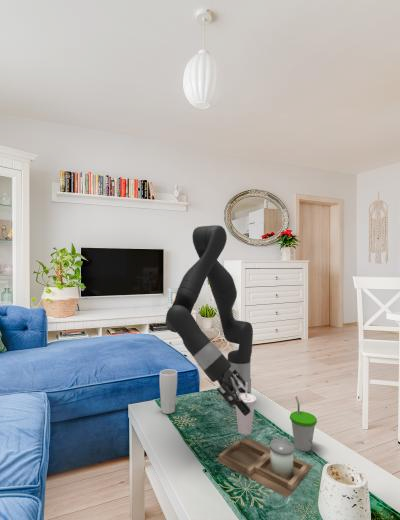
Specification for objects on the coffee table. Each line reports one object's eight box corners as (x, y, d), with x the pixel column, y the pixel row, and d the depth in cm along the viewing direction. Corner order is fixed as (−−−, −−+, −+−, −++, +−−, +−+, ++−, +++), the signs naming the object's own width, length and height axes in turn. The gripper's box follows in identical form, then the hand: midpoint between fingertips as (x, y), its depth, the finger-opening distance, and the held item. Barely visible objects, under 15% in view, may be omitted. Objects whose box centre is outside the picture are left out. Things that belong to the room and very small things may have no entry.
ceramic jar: (276, 461, 92) (276, 435, 92) (298, 470, 88) (298, 444, 88) (265, 472, 87) (265, 445, 87) (287, 483, 83) (287, 455, 83)
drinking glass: (174, 416, 120) (174, 375, 120) (156, 414, 121) (157, 374, 121) (178, 408, 126) (179, 369, 126) (162, 406, 128) (162, 368, 128)
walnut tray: (245, 440, 104) (245, 432, 104) (313, 470, 90) (313, 460, 90) (215, 464, 92) (215, 454, 92) (287, 502, 78) (287, 491, 78)
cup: (316, 460, 94) (317, 409, 94) (289, 455, 97) (289, 405, 97) (315, 446, 102) (316, 398, 102) (289, 441, 104) (290, 395, 104)
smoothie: (240, 439, 89) (241, 387, 89) (229, 427, 95) (230, 379, 94) (260, 434, 91) (261, 384, 91) (248, 423, 97) (249, 376, 97)
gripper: (213, 360, 89) (255, 411, 85) (227, 347, 102) (264, 391, 98) (194, 377, 91) (235, 427, 86) (211, 362, 104) (246, 405, 100)
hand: (250, 408), depth 92 cm, fingers closed on smoothie, 6 cm apart
